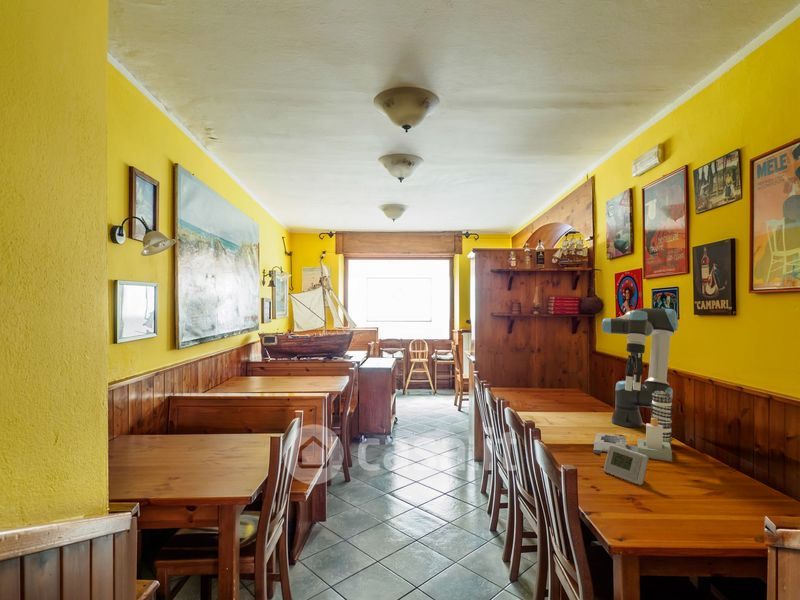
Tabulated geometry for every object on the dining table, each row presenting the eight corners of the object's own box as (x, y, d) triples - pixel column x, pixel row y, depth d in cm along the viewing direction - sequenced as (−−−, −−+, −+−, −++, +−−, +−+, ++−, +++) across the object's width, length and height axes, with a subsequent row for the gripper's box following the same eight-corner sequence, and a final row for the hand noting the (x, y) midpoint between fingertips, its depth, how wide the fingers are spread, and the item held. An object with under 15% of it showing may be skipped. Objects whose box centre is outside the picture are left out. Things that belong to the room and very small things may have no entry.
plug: (646, 453, 198) (646, 418, 198) (645, 450, 202) (646, 416, 202) (662, 456, 195) (662, 420, 195) (661, 452, 199) (662, 418, 199)
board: (593, 453, 202) (593, 449, 202) (595, 443, 216) (595, 440, 216) (672, 465, 189) (672, 461, 189) (670, 454, 202) (670, 450, 202)
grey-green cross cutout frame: (637, 456, 195) (637, 447, 195) (637, 446, 208) (637, 438, 208) (671, 461, 189) (671, 452, 189) (669, 450, 202) (669, 442, 202)
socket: (593, 449, 202) (594, 441, 202) (596, 440, 216) (596, 432, 216) (625, 454, 197) (625, 446, 197) (626, 444, 210) (626, 436, 210)
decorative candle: (671, 450, 207) (672, 394, 207) (648, 446, 213) (649, 391, 213) (674, 445, 215) (675, 391, 214) (651, 441, 220) (652, 389, 220)
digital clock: (601, 471, 181) (601, 444, 181) (619, 469, 184) (620, 442, 183) (633, 488, 165) (633, 458, 165) (653, 485, 168) (653, 456, 168)
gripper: (620, 345, 226) (616, 389, 223) (634, 339, 202) (630, 388, 199) (637, 347, 224) (633, 391, 221) (653, 342, 201) (649, 391, 197)
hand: (632, 390), depth 210 cm, fingers open, 13 cm apart
